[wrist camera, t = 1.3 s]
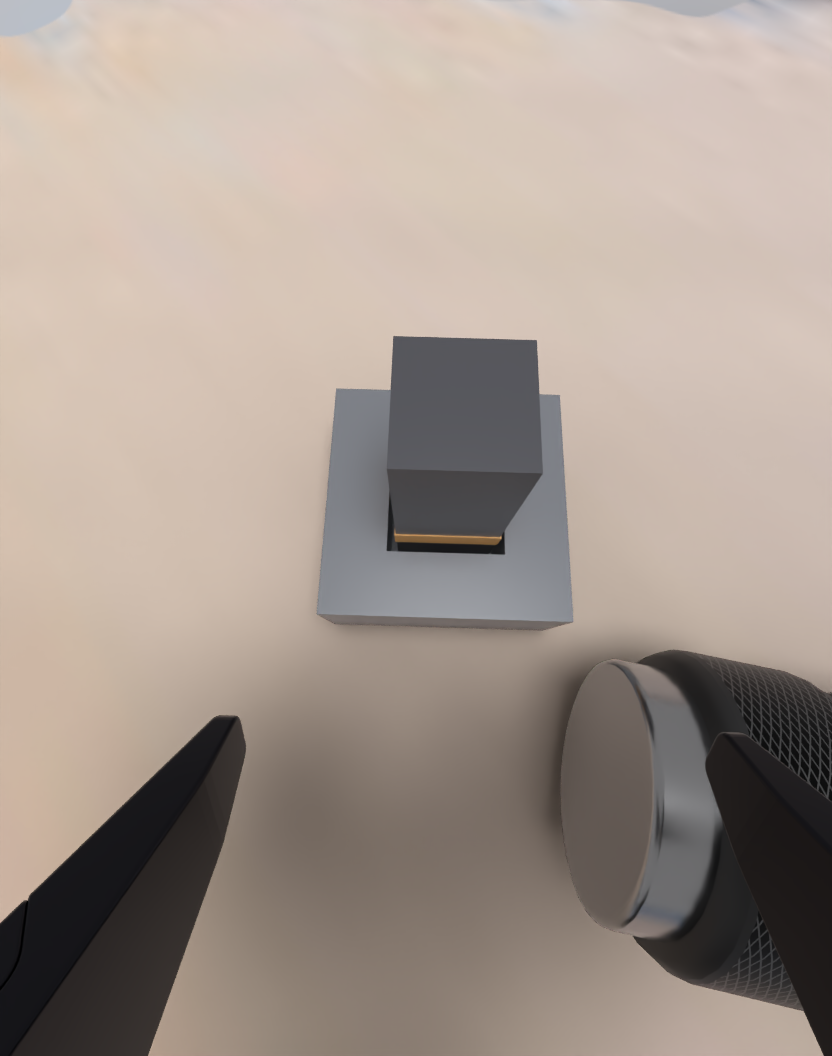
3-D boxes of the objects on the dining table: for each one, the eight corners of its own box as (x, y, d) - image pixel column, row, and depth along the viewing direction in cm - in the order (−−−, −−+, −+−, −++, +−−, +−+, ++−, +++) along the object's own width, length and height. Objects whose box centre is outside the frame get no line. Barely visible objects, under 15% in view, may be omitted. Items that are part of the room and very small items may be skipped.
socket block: (543, 630, 23) (573, 622, 19) (335, 623, 23) (316, 614, 19) (535, 440, 26) (559, 395, 21) (349, 435, 26) (336, 388, 21)
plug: (484, 563, 23) (545, 475, 12) (398, 561, 23) (384, 470, 12) (483, 483, 24) (538, 338, 13) (401, 480, 24) (391, 334, 13)
